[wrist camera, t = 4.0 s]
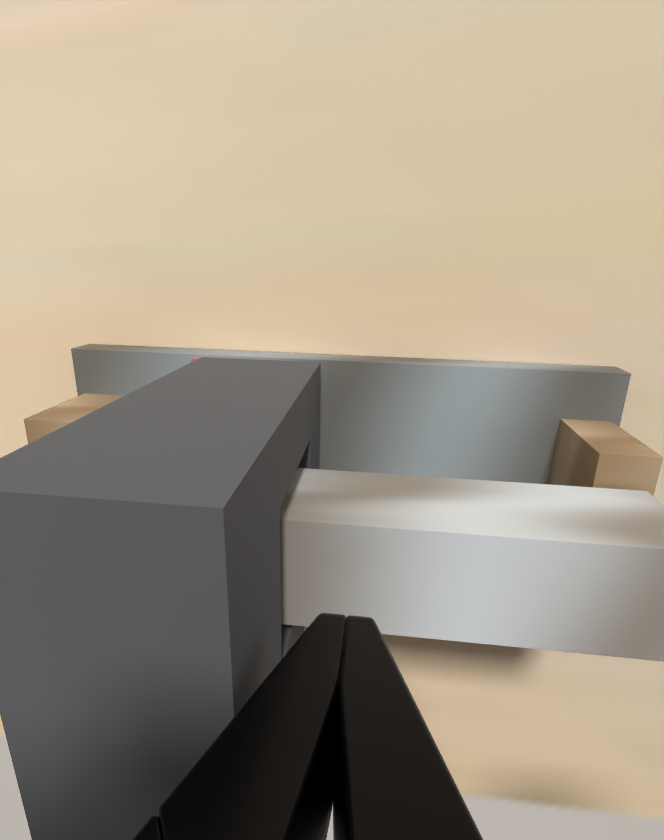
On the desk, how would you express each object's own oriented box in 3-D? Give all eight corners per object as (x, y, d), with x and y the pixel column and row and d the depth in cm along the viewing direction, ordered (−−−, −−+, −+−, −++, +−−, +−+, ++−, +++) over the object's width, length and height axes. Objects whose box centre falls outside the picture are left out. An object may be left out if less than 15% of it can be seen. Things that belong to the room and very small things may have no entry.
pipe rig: (615, 366, 12) (786, 443, 7) (572, 569, 14) (682, 750, 9) (89, 344, 13) (-98, 393, 8) (114, 532, 15) (-25, 669, 10)
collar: (320, 362, 12) (223, 508, 5) (316, 571, 14) (243, 898, 7) (202, 357, 12) (-57, 487, 5) (214, 562, 14) (38, 867, 7)
